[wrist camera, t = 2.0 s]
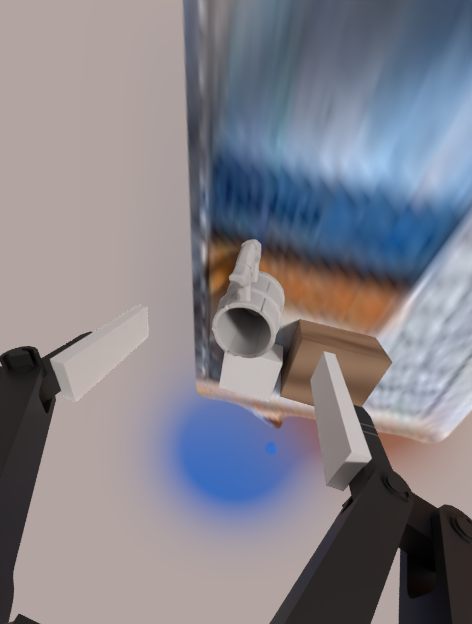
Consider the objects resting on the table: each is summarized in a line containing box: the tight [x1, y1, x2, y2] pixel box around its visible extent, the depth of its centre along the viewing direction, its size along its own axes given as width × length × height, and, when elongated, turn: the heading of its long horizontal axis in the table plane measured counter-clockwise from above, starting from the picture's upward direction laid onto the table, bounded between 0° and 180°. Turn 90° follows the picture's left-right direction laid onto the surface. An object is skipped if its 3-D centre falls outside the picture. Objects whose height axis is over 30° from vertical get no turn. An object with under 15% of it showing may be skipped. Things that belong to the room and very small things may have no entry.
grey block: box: [219, 344, 283, 402], centre depth 31 cm, size 8×8×4 cm
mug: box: [212, 240, 285, 358], centre depth 22 cm, size 8×12×12 cm, turn 1°
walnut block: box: [280, 319, 392, 407], centre depth 28 cm, size 10×10×5 cm
